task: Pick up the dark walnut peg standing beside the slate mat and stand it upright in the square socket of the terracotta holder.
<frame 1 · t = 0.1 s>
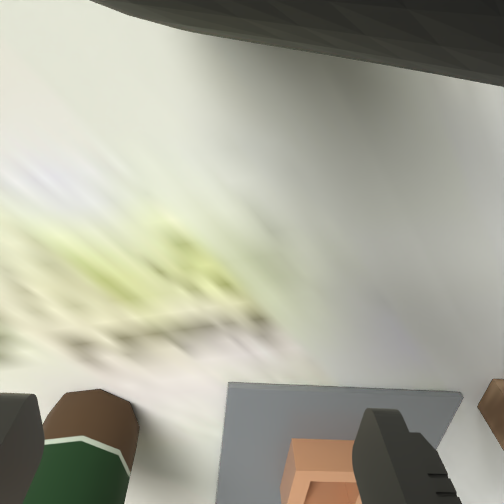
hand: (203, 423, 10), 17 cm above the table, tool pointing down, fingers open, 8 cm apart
beer bottle: (96, 415, 36), on the table
socket holder: (324, 459, 40), on the table
walnut peg: (503, 393, 36), on the table
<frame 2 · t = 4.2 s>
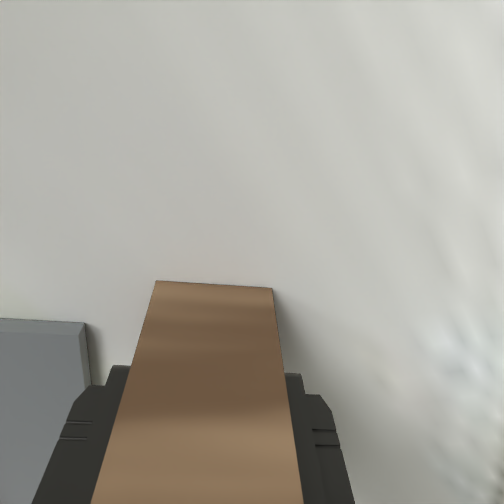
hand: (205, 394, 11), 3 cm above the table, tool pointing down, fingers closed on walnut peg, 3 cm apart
walnut peg: (211, 329, 13), on the table, touching gripper
when the fingers open (5 cm above the table, at t = 9.4 s): walnut peg drops 1 cm, resting on socket holder.
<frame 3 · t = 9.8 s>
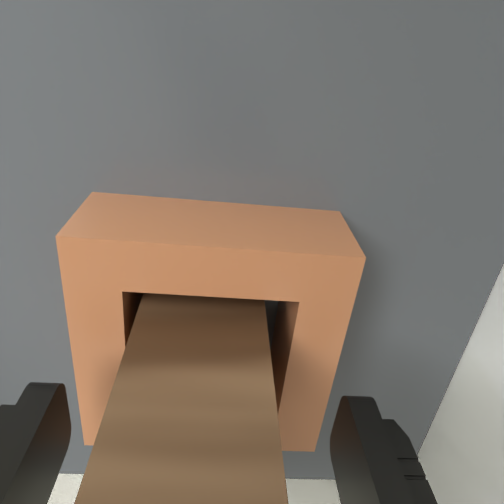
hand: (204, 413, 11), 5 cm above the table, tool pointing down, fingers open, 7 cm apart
socket holder: (212, 293, 15), on the table
walnut peg: (205, 302, 15), point 1 cm above the table, touching socket holder
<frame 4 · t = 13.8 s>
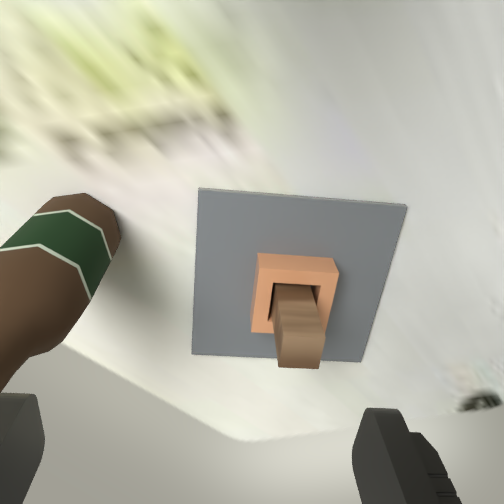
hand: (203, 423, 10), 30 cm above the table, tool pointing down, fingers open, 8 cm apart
beer bottle: (83, 226, 41), on the table
socket holder: (289, 283, 45), on the table
walnut peg: (287, 287, 44), point 1 cm above the table, touching socket holder
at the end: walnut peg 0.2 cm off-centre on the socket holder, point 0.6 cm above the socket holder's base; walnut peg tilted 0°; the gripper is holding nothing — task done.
